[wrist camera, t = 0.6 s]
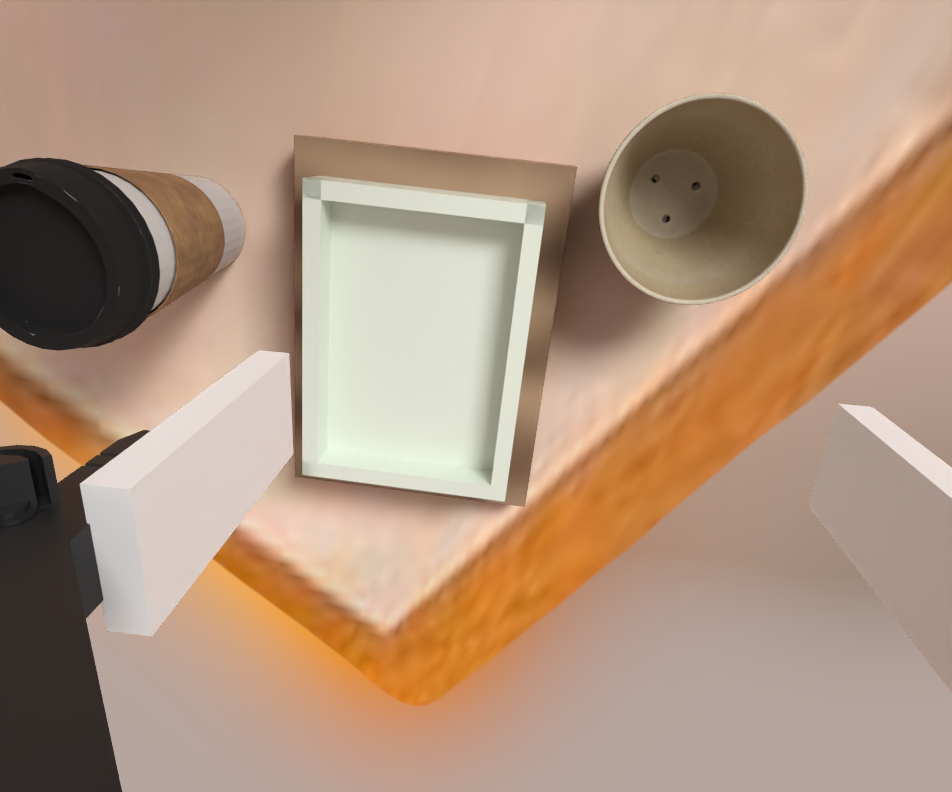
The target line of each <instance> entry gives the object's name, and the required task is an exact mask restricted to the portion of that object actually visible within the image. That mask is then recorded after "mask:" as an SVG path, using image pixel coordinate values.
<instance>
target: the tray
mask: <svg viewBox="0 0 952 792" xmlns="http://www.w3.org/2000/svg"><path fill="white" fill-rule="evenodd" d="M545 210H546V204H545V201H537V200H528V199H519V198H511V197H502V196H493V195H485V194H476V193H467V192H458V191H450V190H441V189H432V188H424V187H415V186H406V185H397V184H389V183H380V182H371V181H363V180H354V179H345V178H336V177H328V176H314V177H306V178H302V475H307V476H315V477H322V478H330V479H338V480H345V481H353V482H360V483H368V484H375V485H383V486H390V487H398V488H406V489H413V490H421V491H428V492H436V493H443V494H451V495H458V496H466V497H473V498H481V499H489V500H496V501H504V502H505V497H506V490H507V483H508V475H509V468H510V461H511V454H512V447H513V440H514V432H515V425H516V418H517V411H518V404H519V397H520V389H521V382H522V375H523V368H524V361H525V353H526V346H527V339H528V332H529V325H530V318H531V310H532V303H533V296H534V289H535V282H536V275H537V267H538V260H539V253H540V246H541V239H542V232H543V224H544V217H545Z"/></svg>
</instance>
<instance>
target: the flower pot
mask: <svg viewBox="0 0 952 792" xmlns="http://www.w3.org/2000/svg"><path fill="white" fill-rule="evenodd" d="M652 178H653V179H655V180H656V182H655V183H654V182H653V181H652ZM695 182H698V183H697V184H696V185H694V186H692V184H693V183H695ZM807 197H808V175H807V168H806V163H805V159H804V155H803V152H802V150H801V147H800V146H799V144H798V141H797V139H796V138H795V136H794V134H793V133H792V131H791V130H790V129H789V127H788V126H787V125H786V124H785V123H784V121H783V120H782V119H781V118H780V117H779V116H778V115H776V114H775V113H774V112H773V111H771V110H770V109H769V108H767V107H765V106H764V105H762V104H760V103H758V102H756V101H754V100H752V99H749V98H746V97H743V96H738V95H733V94H726V93H705V94H698V95H693V96H689V97H685V98H682V99H679V100H676V101H674V102H672V103H670V104H667V105H665V106H663V107H662V108H660V109H658V110H656V111H655V112H653V113H652V114H651V115H649V116H648V117H647V118H645V119H644V120H643V121H642V122H641V123H639V124H638V125H637V126H636V127H635V128H634V129H633V130H632V131H631V132H630V133H629V134H628V135H627V137H626V138H625V139H624V140H623V142H622V143H621V144H620V146H619V147H618V149H617V150H616V152H615V154H614V155H613V157H612V159H611V161H610V163H609V165H608V168H607V170H606V173H605V176H604V178H603V182H602V185H601V190H600V197H599V225H600V231H601V236H602V239H603V242H604V245H605V248H606V250H607V253H608V255H609V257H610V259H611V260H612V262H613V264H614V265H615V267H616V268H617V270H618V271H619V272H620V273H621V275H622V276H623V277H624V278H625V279H626V280H627V281H628V282H629V283H631V284H632V285H633V286H634V287H636V288H637V289H639V290H640V291H642V292H643V293H645V294H647V295H649V296H651V297H653V298H656V299H659V300H661V301H664V302H668V303H674V304H681V305H701V304H708V303H713V302H717V301H721V300H724V299H727V298H730V297H732V296H735V295H737V294H739V293H741V292H743V291H745V290H747V289H749V288H750V287H752V286H753V285H755V284H756V283H757V282H759V281H760V280H761V279H763V278H764V277H765V276H766V275H767V274H768V273H769V272H770V271H771V270H772V269H773V268H774V267H775V266H776V265H777V264H778V263H779V262H780V261H781V259H782V258H783V257H784V255H785V254H786V253H787V251H788V250H789V248H790V247H791V245H792V243H793V241H794V240H795V238H796V236H797V234H798V232H799V229H800V227H801V224H802V221H803V218H804V214H805V210H806V205H807ZM667 216H669V218H670V219H669V221H668V222H667V221H666V218H667Z"/></svg>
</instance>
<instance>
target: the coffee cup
mask: <svg viewBox="0 0 952 792" xmlns="http://www.w3.org/2000/svg"><path fill="white" fill-rule="evenodd" d="M244 239H245V223H244V219H243V215H242V213H241V210H240V208H239V206H238V204H237V203H236V201H235V199H234V198H233V197H232V196H231V195H230V194H229V192H228V191H227V190H225V189H224V188H223V187H222V186H220V185H219V184H217V183H215V182H213V181H212V180H209V179H206V178H203V177H197V176H187V175H172V174H164V173H155V172H145V171H136V170H127V169H117V168H108V167H98V166H89V165H81V164H78V163H74V162H71V161H68V160H62V159H53V158H32V159H25V160H19V161H17V162H14V163H12V164H9V165H7V166H4V167H1V168H0V328H2V329H3V330H5V331H6V332H7V333H9V334H10V335H11V336H13V337H15V338H17V339H19V340H21V341H23V342H25V343H27V344H30V345H33V346H36V347H39V348H42V349H50V350H67V349H75V348H86V347H97V346H101V345H104V344H107V343H110V342H113V341H115V340H116V339H119V338H122V337H124V336H126V335H127V334H129V333H131V332H133V331H134V330H135V329H136V328H138V327H139V326H140V325H141V324H142V323H143V322H144V321H145V319H146V318H148V317H149V316H151V315H153V314H154V313H156V312H158V311H159V310H161V309H162V308H164V307H165V306H167V305H168V304H170V303H171V302H173V301H174V300H176V299H177V298H179V297H180V296H182V295H183V294H185V293H186V292H188V291H189V290H191V289H192V288H194V287H195V286H197V285H198V284H200V283H201V282H203V281H204V280H206V279H207V278H209V277H210V276H211V275H213V274H214V273H216V272H218V271H220V270H221V269H223V268H225V267H226V266H228V265H229V264H231V263H232V262H233V261H234V260H235V259H236V258H237V256H238V255H239V253H240V252H241V249H242V247H243V244H244Z"/></svg>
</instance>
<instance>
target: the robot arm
mask: <svg viewBox="0 0 952 792" xmlns="http://www.w3.org/2000/svg"><path fill="white" fill-rule="evenodd" d="M292 455H293V432H292V408H291V384H290V360H289V353H282V352H271V351H261V350H258V351H257V352H256V353H254V354H253V355H252V356H250V357H249V358H248V359H246V360H245V361H244V362H242V363H241V364H240V365H238V366H237V367H236V368H234V369H233V370H232V371H230V372H229V373H228V374H226V375H225V376H223V377H222V378H221V379H219V380H218V381H217V382H215V383H214V384H213V385H211V386H210V387H209V388H207V389H206V390H205V391H203V392H202V393H201V394H199V395H198V396H197V397H195V398H194V399H193V400H191V401H190V402H189V403H187V404H186V405H185V406H183V407H182V408H181V409H179V410H178V411H177V412H175V413H174V414H173V415H171V416H170V417H169V418H167V419H166V420H165V421H163V422H162V423H161V424H159V425H158V426H157V427H155V428H154V429H153V430H151V431H148V430H143V431H140V432H138V433H135V434H132V435H130V436H127V437H125V438H122V439H120V440H118V441H116V442H115V443H113V444H112V445H111V446H109V447H108V448H106V449H105V450H104V451H102V452H101V453H100V455H97V456H95V457H94V458H92V459H91V460H90V461H88V462H87V463H86V465H85V466H81V467H80V468H79V469H77V470H76V471H74V472H73V473H71V474H70V475H68V476H67V477H66V478H64V479H63V480H61V481H60V482H59V483H57V480H56V475H55V469H54V464H53V459H52V455H51V454H50V453H49V452H48V451H47V450H46V449H43V448H39V447H36V446H25V445H14V446H5V447H0V792H122V789H121V785H120V780H119V775H118V771H117V766H116V762H115V756H114V751H113V747H112V742H111V737H110V732H109V728H108V723H107V718H106V713H105V709H104V704H103V699H102V694H101V690H100V685H99V680H98V675H97V671H96V666H95V661H94V656H93V652H92V647H91V642H90V638H89V632H88V628H87V623H86V618H87V617H88V616H89V615H90V614H91V613H92V611H94V609H95V608H96V607H97V606H98V605H99V604H100V603H101V602H102V608H103V613H104V619H105V623H106V629H107V631H109V632H118V633H127V634H136V635H144V636H153V635H154V633H155V632H156V631H157V630H158V628H159V627H160V626H161V624H162V623H163V622H164V620H165V619H166V618H167V616H168V615H169V614H170V613H171V611H172V610H173V609H174V608H175V606H176V605H177V604H178V602H179V601H180V600H181V599H182V597H183V596H184V595H185V593H186V592H187V591H188V589H189V588H190V587H191V586H192V584H193V583H194V582H195V580H196V579H197V578H198V576H199V575H200V574H201V573H202V571H203V570H204V569H205V567H206V566H207V565H208V564H209V562H210V561H211V560H212V558H213V557H214V556H215V555H216V553H217V552H218V551H219V549H220V548H221V547H222V546H223V544H224V543H225V542H226V540H227V539H228V538H229V536H230V535H231V534H232V533H233V531H234V530H235V529H236V527H237V526H238V525H239V524H240V522H241V521H242V520H243V518H244V517H245V516H246V515H247V513H248V512H249V511H250V509H251V508H252V507H253V505H254V504H255V503H256V502H257V500H258V499H259V498H260V496H261V495H262V494H263V493H264V491H265V490H266V489H267V487H268V486H269V485H270V483H271V482H272V481H273V480H274V478H275V477H276V476H277V474H278V473H279V472H280V471H281V469H282V468H283V467H284V465H285V464H286V463H287V462H288V460H289V459H290V458H291V456H292ZM808 507H809V508H810V509H811V511H812V512H813V513H814V515H815V516H816V517H817V518H818V520H819V521H820V522H821V523H822V525H823V526H824V527H825V529H826V530H827V531H828V533H829V534H830V535H831V537H832V538H833V539H834V540H835V542H836V543H837V544H838V545H839V547H840V548H841V550H842V551H843V552H844V553H845V554H846V556H847V557H848V558H849V560H850V561H851V562H852V564H853V565H854V566H855V568H856V569H857V570H858V571H859V573H860V574H861V575H862V577H863V578H864V579H865V581H866V582H867V583H868V584H869V586H870V587H871V588H872V590H873V591H874V592H875V593H876V595H877V596H878V597H879V599H880V600H881V601H882V603H883V604H884V605H885V606H886V608H887V609H888V610H889V612H890V613H891V614H892V616H893V617H894V618H895V619H896V621H897V622H898V623H899V624H900V626H901V627H902V629H903V630H904V631H905V632H906V634H907V635H908V636H909V638H910V639H911V640H912V641H913V643H914V644H915V645H916V647H917V648H918V649H919V650H920V652H921V653H922V654H923V656H924V657H925V658H926V660H927V661H928V662H929V663H930V665H931V666H932V667H933V669H934V670H935V671H936V673H937V674H938V675H939V676H940V677H941V679H942V680H943V682H944V683H945V684H946V686H947V687H948V688H949V689H950V691H951V692H952V468H951V467H950V466H949V465H947V464H946V463H945V462H943V461H942V460H941V459H940V458H938V457H937V456H936V455H934V454H933V453H932V452H930V451H929V450H928V449H926V448H925V447H924V446H922V445H921V444H920V443H919V442H917V441H916V440H915V439H913V438H912V437H911V436H909V435H908V434H907V433H905V432H904V431H903V430H901V429H900V428H899V427H898V426H896V425H895V424H894V423H892V422H891V421H890V420H888V419H887V418H886V417H884V416H883V415H882V414H880V413H879V412H878V411H877V410H875V409H874V408H872V407H867V406H856V405H844V404H838V408H837V410H836V414H835V417H834V421H833V423H832V427H831V430H830V433H829V437H828V440H827V443H826V446H825V450H824V453H823V456H822V460H821V463H820V466H819V470H818V473H817V476H816V479H815V483H814V486H813V489H812V493H811V496H810V499H809V502H808Z"/></svg>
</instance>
